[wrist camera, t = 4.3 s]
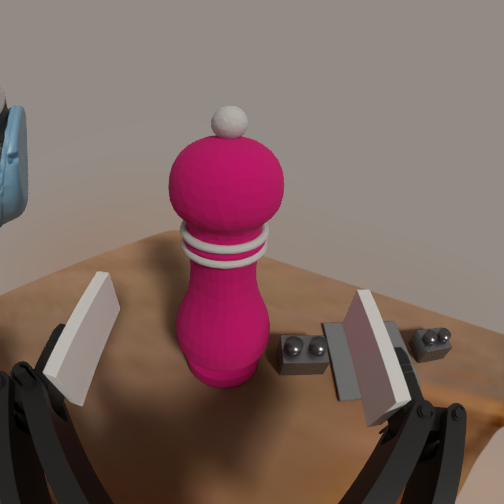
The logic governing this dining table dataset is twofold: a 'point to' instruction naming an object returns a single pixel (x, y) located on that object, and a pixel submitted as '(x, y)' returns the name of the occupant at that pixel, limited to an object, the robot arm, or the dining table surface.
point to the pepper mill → (224, 247)
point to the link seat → (343, 360)
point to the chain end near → (302, 354)
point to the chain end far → (430, 344)
